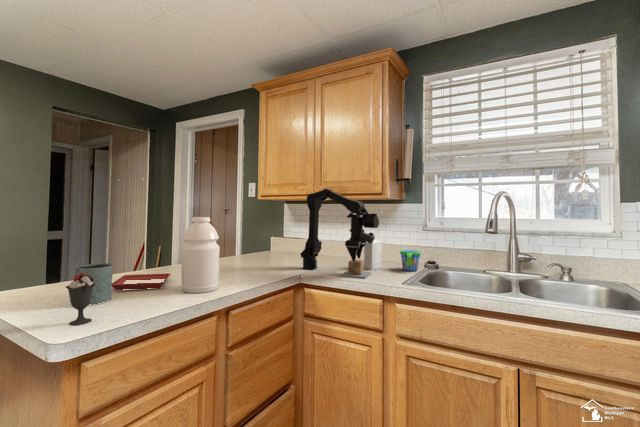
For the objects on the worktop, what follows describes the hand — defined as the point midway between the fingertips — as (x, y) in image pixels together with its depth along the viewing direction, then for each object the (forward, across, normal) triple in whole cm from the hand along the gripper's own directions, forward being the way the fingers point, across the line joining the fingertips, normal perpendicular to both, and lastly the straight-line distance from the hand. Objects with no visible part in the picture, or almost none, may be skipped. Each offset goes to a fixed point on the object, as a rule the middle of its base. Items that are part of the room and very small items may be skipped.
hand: (356, 259), depth 150 cm
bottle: (+8, -50, +49) cm, 70 cm away
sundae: (+8, -91, +53) cm, 106 cm away
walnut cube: (+7, 0, 0) cm, 7 cm away
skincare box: (+8, +20, -4) cm, 22 cm away
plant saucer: (+8, -55, +74) cm, 93 cm away
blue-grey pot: (+8, -77, +69) cm, 104 cm away
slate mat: (+8, 0, 0) cm, 8 cm away
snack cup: (+8, +24, -23) cm, 34 cm away
